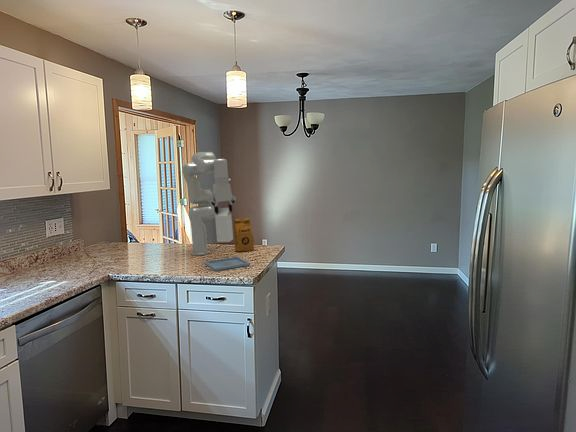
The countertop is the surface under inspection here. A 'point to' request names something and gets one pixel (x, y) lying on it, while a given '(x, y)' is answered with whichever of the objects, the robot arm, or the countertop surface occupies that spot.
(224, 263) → the tray
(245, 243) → the coffee package
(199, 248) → the robot arm
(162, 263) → the countertop surface
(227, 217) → the milk carton
